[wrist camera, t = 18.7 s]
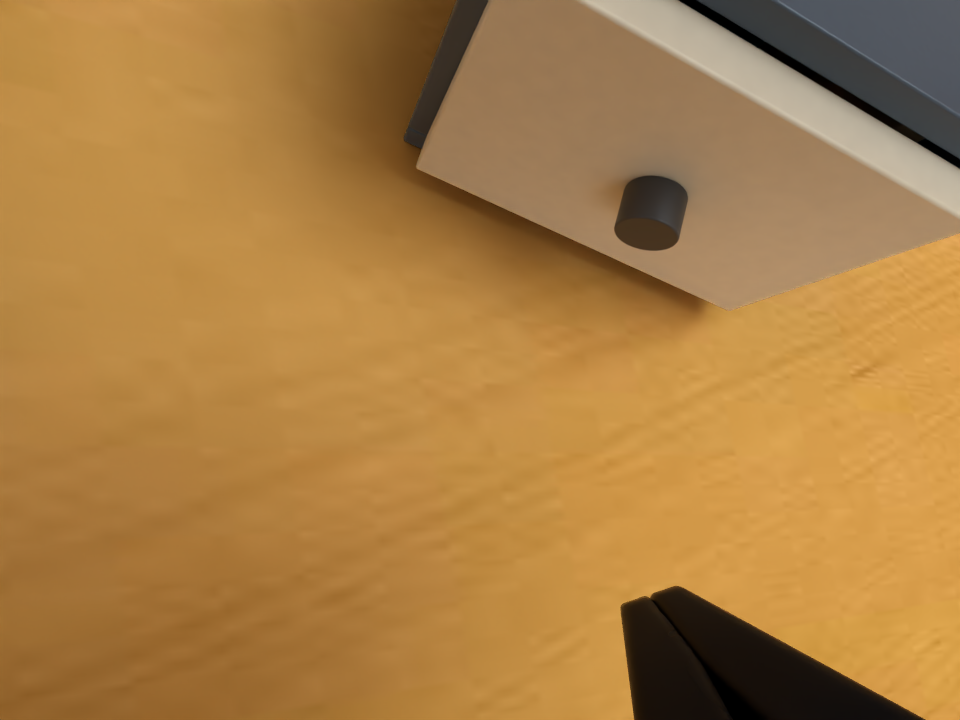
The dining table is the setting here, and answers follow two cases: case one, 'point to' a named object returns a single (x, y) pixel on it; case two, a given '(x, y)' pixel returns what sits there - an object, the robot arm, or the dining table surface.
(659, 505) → the dining table surface
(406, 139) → the cabinet
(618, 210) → the drawer
